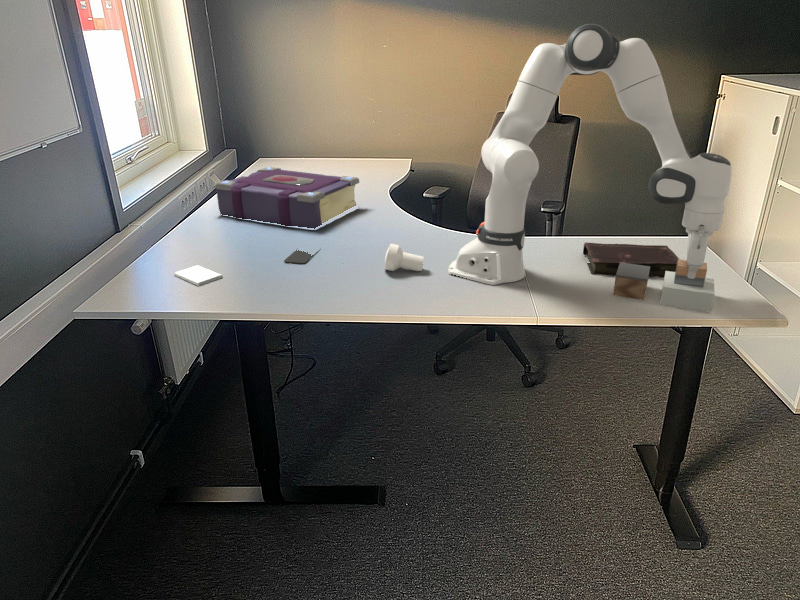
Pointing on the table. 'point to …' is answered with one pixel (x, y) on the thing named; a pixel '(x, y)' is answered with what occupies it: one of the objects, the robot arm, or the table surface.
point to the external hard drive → (198, 275)
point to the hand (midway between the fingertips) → (691, 271)
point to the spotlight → (402, 259)
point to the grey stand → (687, 294)
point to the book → (286, 197)
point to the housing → (683, 272)
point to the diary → (629, 258)
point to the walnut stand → (631, 281)
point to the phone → (298, 257)
